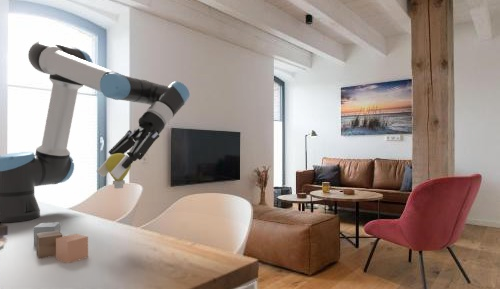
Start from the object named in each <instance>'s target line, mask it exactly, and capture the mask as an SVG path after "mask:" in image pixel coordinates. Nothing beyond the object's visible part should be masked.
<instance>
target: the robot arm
mask: <svg viewBox="0 0 500 289" xmlns="http://www.w3.org/2000/svg"><path fill="white" fill-rule="evenodd" d="M28 61H29V62H30V65H31V66H32V67H33V68H34V69H35V70H36V71H38V72H40V73H43V74H47V75H49V78H48V79H49V81H51V83H52V88H51V93H50V99H49V104H48V108H47V109H48V110H47V116H46V119H45V126H44V131H43V137H42V142H41V145H40V146H38V147H36V150H35V154H34V152H32V151H20V152H11V153H5V154H2V155H0V222H1V223H0V224H3V223H5V224H8V223H17V222H25V221H30V220H33V219H38V218H39V217H40V216H41V209H40V206H39V204H38V201H37V198H36V195H35V187H40V186H47V185H58V184H61V183H64V182H67V181H68V180H69V179H70V178H71V177H72V175H73V173H74V170H75V163H74V162H73V161H74V158H73V157H72V156H71V152H70V151H69V149H68V142H69V138H70V137H69V136H70V132H71V127H72V121H73V117H74V111H75V108H76V107H75V106H76V102H77V101H76V100H77V98H78V97H77V96H78V90H79V89H81V88H82V87H83V86H85V87H88V88H90V89H92V90H95V91H97V92H99V93H102V95H103V96H104V97H106V98H109V99H111V100H112V99H113V100H116V101H124V102H125V101H126V102H132V103H139V104H145V105H149V107H148V109H147V110H146V111H145V112H144V113H143V114H142V115H141V116H140V117H139V119H138V127H136V128H135V129H134V130H131V129H129V130H127V132H125V135H124V136H122V137H121V139H119V141H118V142H117V143H116V144H115V145H114V146H112V148H110V150H109V151H108V153H109V156H108V157H107V158H106V160H104V162H103V163H102V164H100V166H99V168H97V170H96V172H97V174H99V175H100V176H101V177H102V178H105V177H106V176H107V175H108V173H109V171H108V169H107V167H106V163H107V160H108V158H109V157H110V156H111V155H113V154H116V153H122V154H125V153H126V154H125V156H124V158H123V159H122V160H121V161H120V162H119V163H118V164H117V166H116V167H115V168H114V169H113V170H112V171H111V174H112V175H113V176H114V177H115V178H116V179H119V178H120V177H121V176H122V174H123V173H124V172H125V171H126V170H127V168H128V167H129V166H130V165H131V166H132V164H133V163H134V162H135V161H137V160H139V161H141V160H142V159H143V158H144V156H145V155H146V154H147V152H148V151H149V149H151V147H152V146H153V144H154V143H155V141H156V140H158V138H160V134H161V133H162V131H163V130H164V129H165V127H166V126H167V125H168V124H170V121H171V120H172V119H173V118H174V117H175V115H176V114H177V113H178V112H179V110H181V108H182V107H183V106H184V105H186V102H187V101H188V100H189V97H190V91H189V88H188V87H187V86H186V85H185V84H184V83H183V82H180V81H178V80H176V81H173V82H171V83H170V84H169V85H168V86H167V85H164V84H159V83H155V82H152V81H149V80H145V79H139V78H135V77H132V76H127V75H124V74H121V73H119V72H115V71H113V70H111V69H108V68H105V67H102V66H100V65H97V64H95V63H93V59H92V58H91V56H90V55H89V54H88V52H86V51H84V50H81V49H80V48H77V47H73V46H68V45H65V44H62V43H57V42H55V41H51V40H40V41H37V42H35V43H33V44H32V46H30V48H29V50H28ZM111 174H110V175H111Z"/></svg>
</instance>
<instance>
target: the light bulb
mask: <svg viewBox="0 0 500 289" xmlns="http://www.w3.org/2000/svg"><path fill="white" fill-rule="evenodd" d="M125 155H126V154H125V153H124V154H122V153H116V154H113V155H111V156H110V155H109V156H110V157H109V156H108V157H109V158H108V157H107V159H108V160H107V159H106V160H107V163H106V167H107V169H108V171H109V172H108V173H109V174H110V176H111V177H112V178H113V180H112V185H113V186H114V189H124V185H125V183H126V182H125V181H126V180H124V179H125V177H126V176H127V175H128V174H129V171H130V169H131V166H132V164H131V165H130V166H129V167H128V168H127V170H126V171H125V172H124V173H123V174H122V176H121V177H120V178H119V179H116V178H115V177H114V176H113V175H112V174H111V171H112V170H113V169H114V168H115V167H116V166H117V164H118V163H119V162H120V161H121V160H122V159H123V158H124V156H125Z"/></svg>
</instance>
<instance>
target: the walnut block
mask: <svg viewBox="0 0 500 289" xmlns="http://www.w3.org/2000/svg"><path fill="white" fill-rule="evenodd" d="M60 237H64V236H63V234H62V232H61V230H60V231H59V230H58V231H51V232H43V233H36V246H35V247H36V255H37V258H38V259H44V258H51V257H56V238H60Z"/></svg>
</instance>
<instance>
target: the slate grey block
mask: <svg viewBox="0 0 500 289" xmlns="http://www.w3.org/2000/svg"><path fill="white" fill-rule="evenodd" d="M58 230H59V231H60V232H61V221H59V222H58V221H57V222H40V223H38V224H37V225H35V226H34V227H33V247H36V233H43V232H51V231H58Z"/></svg>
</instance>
